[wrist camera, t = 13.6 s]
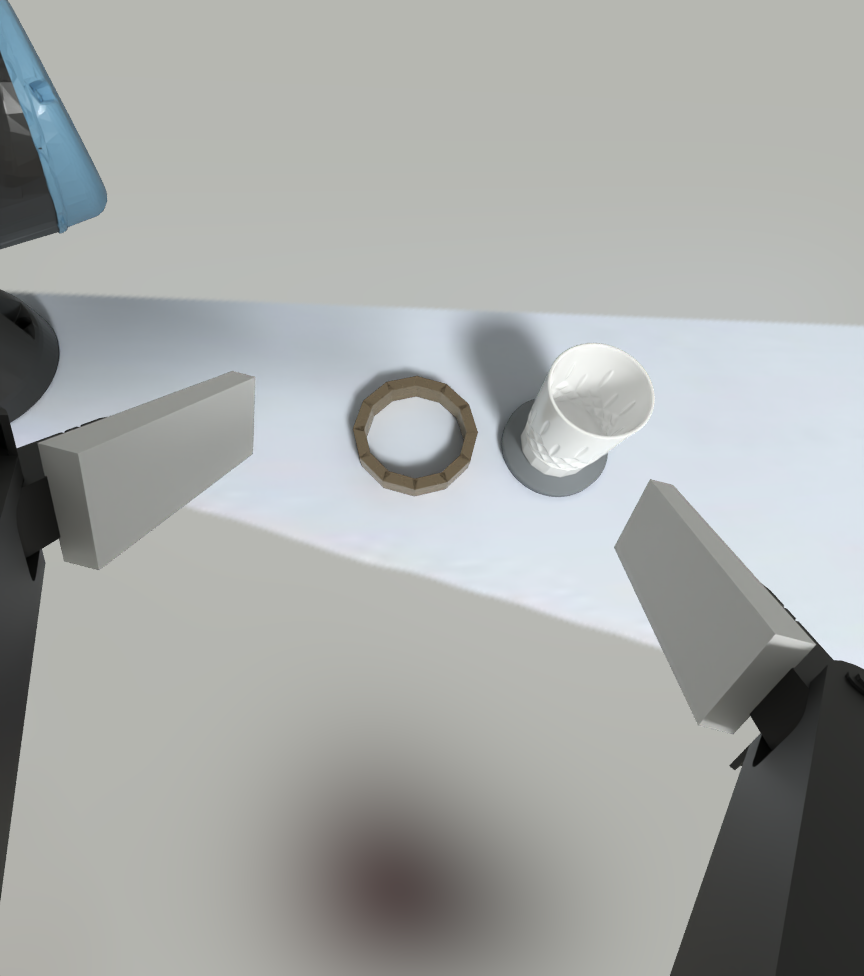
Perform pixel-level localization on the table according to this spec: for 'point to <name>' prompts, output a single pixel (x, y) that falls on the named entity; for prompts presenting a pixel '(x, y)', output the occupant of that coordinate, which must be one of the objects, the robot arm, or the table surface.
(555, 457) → the white cup
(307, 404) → the table surface
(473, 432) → the collar
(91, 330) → the table surface
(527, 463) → the coaster
